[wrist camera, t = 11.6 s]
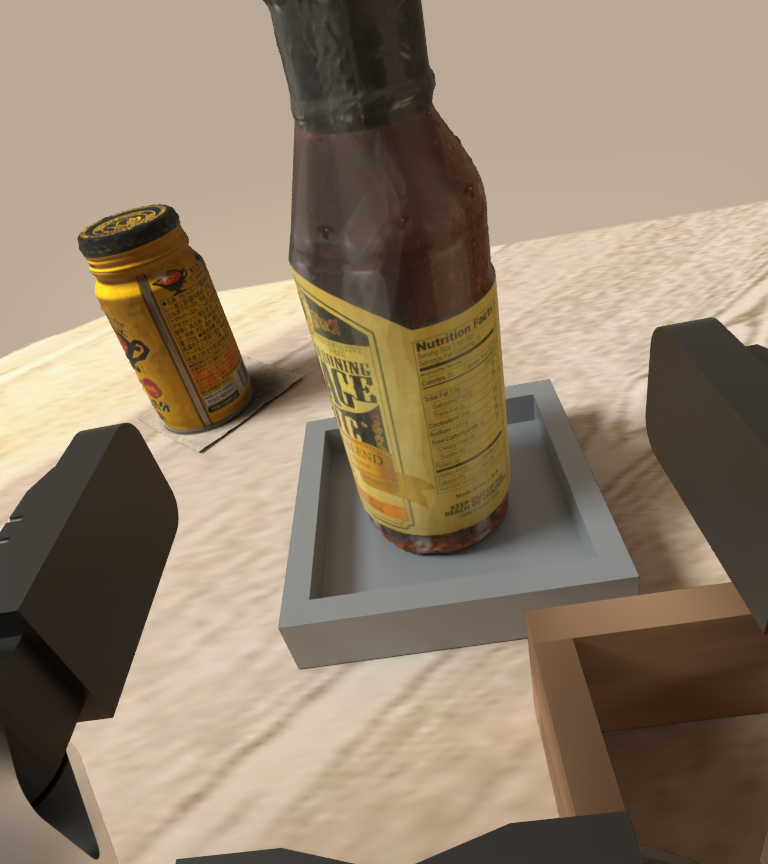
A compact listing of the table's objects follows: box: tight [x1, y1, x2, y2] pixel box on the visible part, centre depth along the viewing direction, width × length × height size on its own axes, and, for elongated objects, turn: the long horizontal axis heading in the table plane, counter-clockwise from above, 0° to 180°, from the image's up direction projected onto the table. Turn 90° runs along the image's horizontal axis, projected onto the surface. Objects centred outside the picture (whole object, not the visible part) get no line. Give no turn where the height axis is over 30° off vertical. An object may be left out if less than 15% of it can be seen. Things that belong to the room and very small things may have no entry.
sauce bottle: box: [263, 0, 511, 555], centre depth 20 cm, size 6×6×20 cm
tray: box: [278, 379, 639, 669], centre depth 26 cm, size 12×12×2 cm
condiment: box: [78, 204, 304, 452], centre depth 36 cm, size 7×8×12 cm
